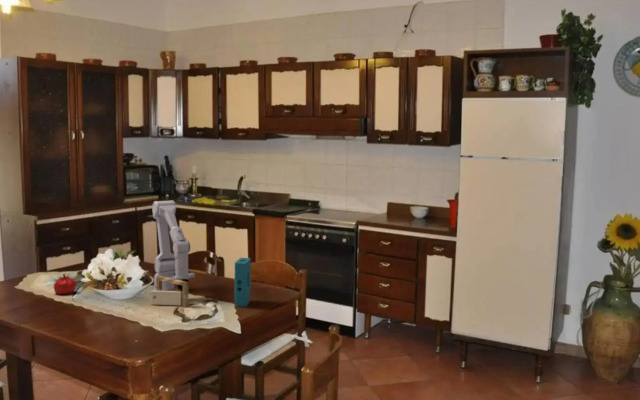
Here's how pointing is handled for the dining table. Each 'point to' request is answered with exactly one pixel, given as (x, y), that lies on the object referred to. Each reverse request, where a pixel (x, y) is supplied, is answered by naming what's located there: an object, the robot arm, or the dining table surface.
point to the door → (166, 297)
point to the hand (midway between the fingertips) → (181, 295)
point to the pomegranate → (65, 285)
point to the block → (242, 281)
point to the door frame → (174, 281)
